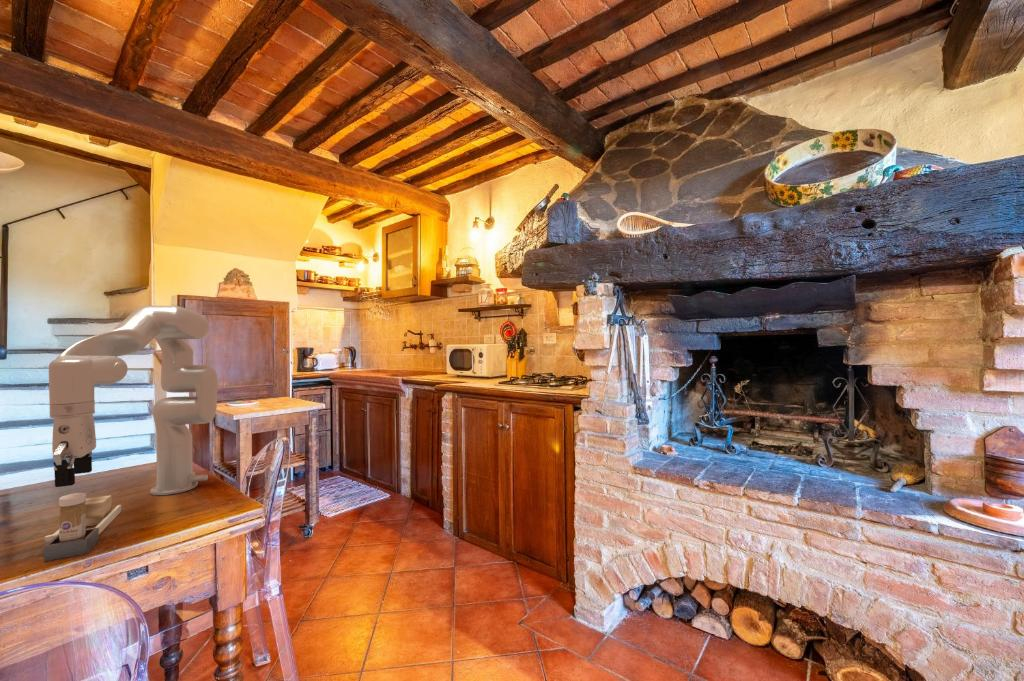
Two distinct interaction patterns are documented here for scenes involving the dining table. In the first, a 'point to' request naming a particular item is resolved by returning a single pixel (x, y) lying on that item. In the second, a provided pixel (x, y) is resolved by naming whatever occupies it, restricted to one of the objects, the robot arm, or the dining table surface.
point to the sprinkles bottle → (72, 517)
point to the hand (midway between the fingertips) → (74, 479)
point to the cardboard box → (97, 509)
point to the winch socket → (71, 546)
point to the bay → (102, 526)
